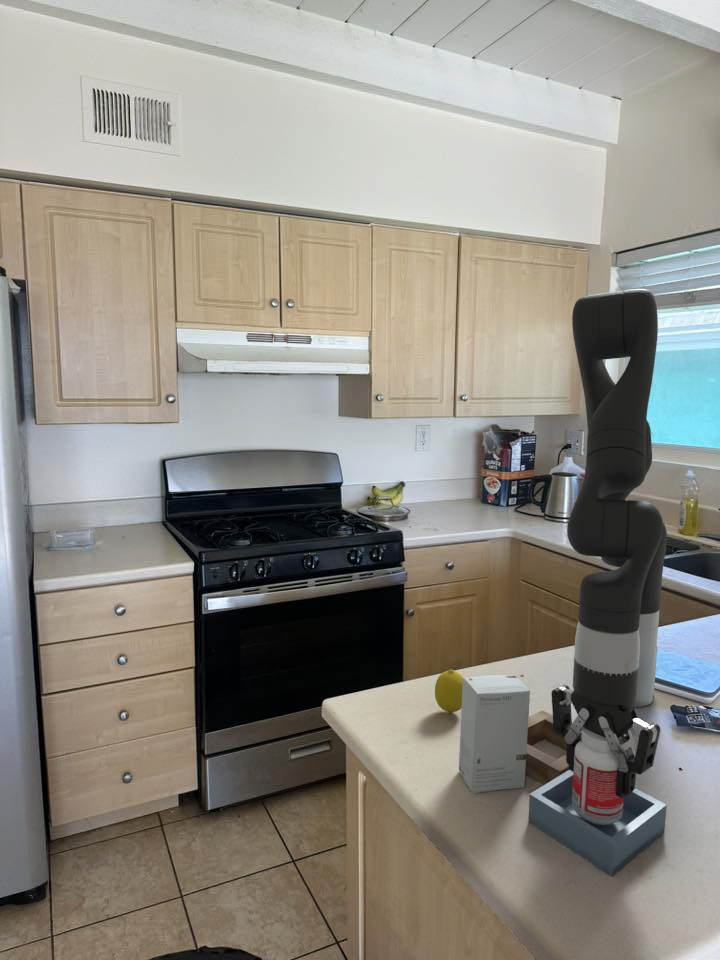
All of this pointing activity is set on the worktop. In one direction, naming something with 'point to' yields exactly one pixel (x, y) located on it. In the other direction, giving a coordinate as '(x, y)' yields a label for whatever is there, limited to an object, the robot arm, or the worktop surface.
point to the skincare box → (493, 732)
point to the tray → (594, 841)
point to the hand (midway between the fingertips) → (598, 781)
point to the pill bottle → (596, 780)
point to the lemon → (449, 691)
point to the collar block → (537, 761)
